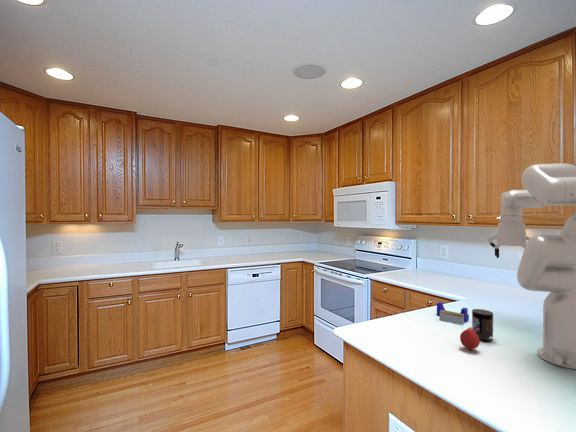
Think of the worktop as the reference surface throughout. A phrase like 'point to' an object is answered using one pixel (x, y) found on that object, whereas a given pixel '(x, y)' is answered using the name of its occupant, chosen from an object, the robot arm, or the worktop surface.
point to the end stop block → (452, 317)
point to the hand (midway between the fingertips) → (511, 258)
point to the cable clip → (463, 311)
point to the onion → (469, 339)
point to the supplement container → (483, 324)
